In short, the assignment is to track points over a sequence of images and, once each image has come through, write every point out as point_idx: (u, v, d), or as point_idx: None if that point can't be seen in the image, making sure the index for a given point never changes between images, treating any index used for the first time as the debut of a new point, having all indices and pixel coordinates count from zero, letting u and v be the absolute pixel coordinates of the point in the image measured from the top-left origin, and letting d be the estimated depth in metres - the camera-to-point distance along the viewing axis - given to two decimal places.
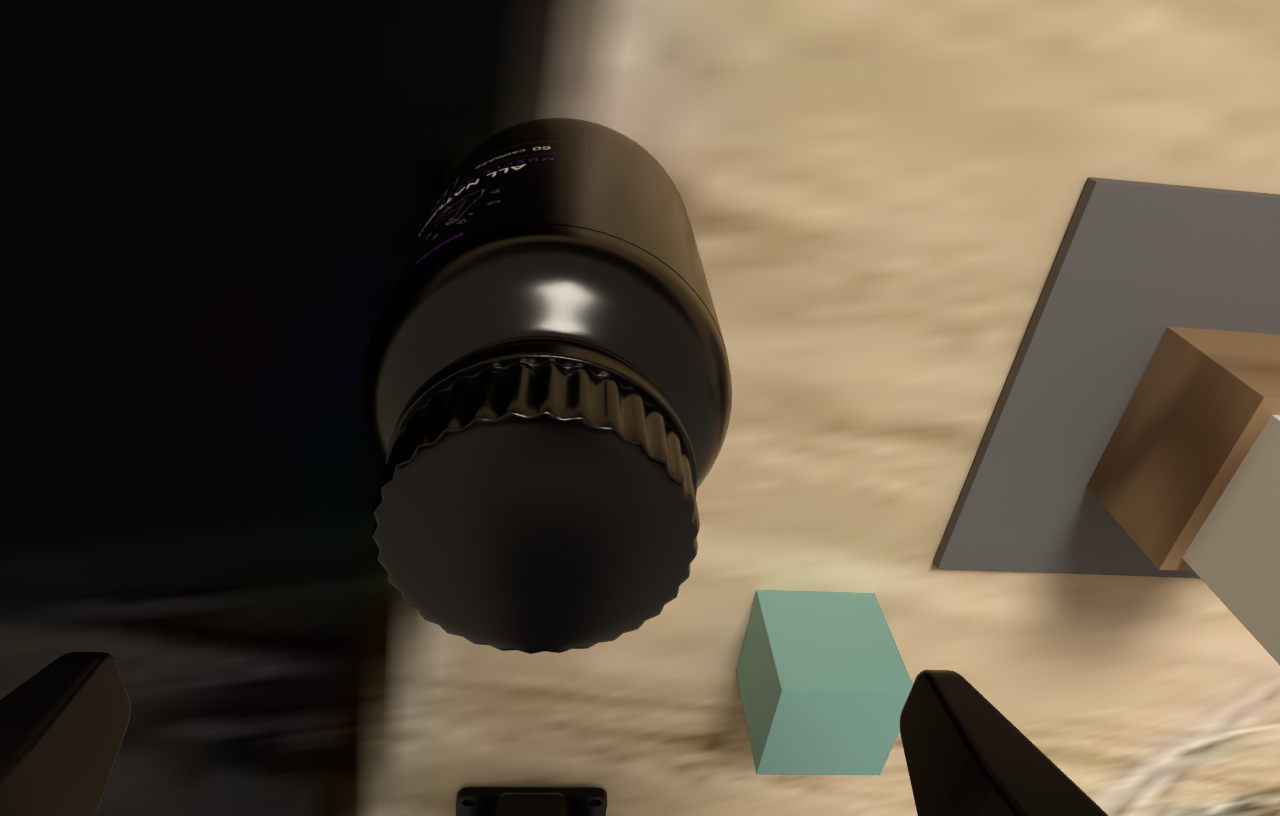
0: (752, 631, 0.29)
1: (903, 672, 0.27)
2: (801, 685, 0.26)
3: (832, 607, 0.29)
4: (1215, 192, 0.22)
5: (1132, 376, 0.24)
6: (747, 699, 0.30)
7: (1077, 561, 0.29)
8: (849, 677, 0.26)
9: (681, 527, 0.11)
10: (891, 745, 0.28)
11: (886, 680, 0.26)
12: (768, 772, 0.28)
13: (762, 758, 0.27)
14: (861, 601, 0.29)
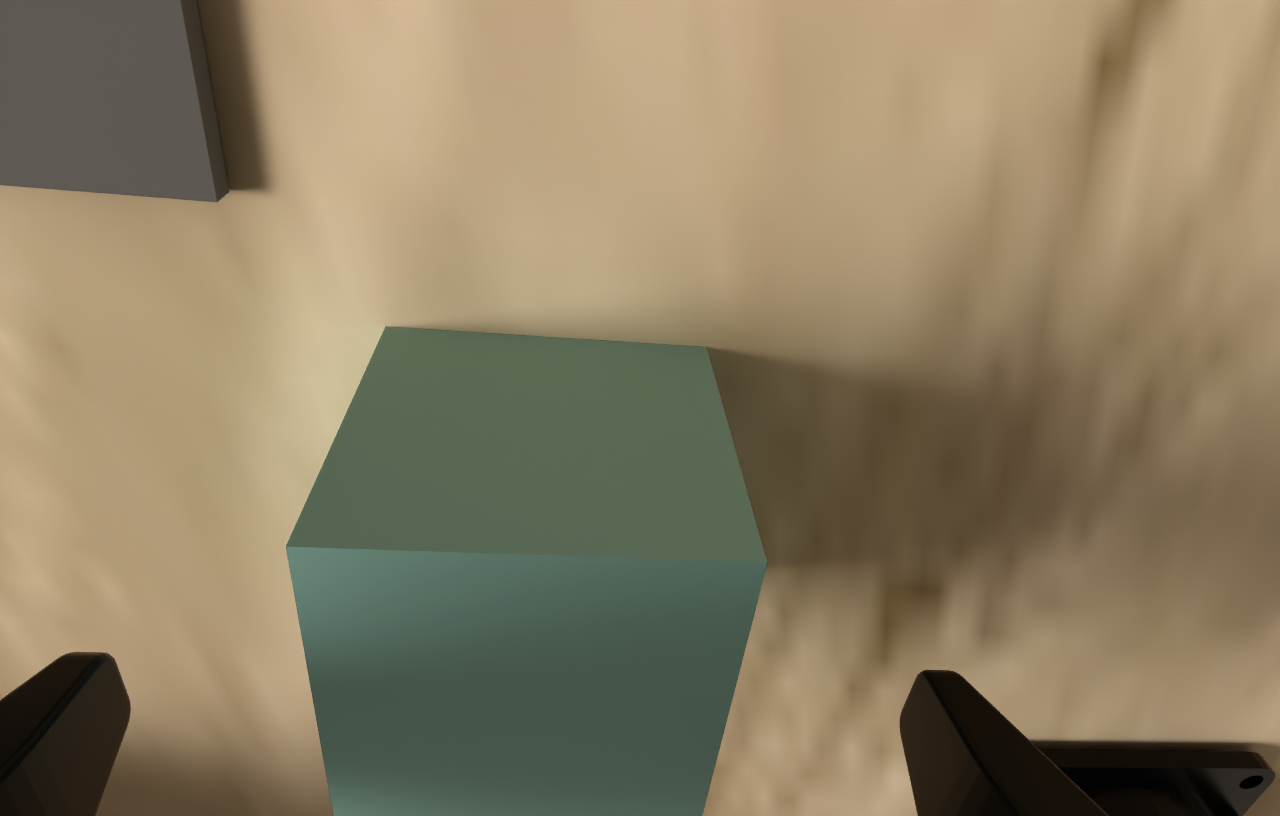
0: None
1: None
2: (334, 774, 0.09)
3: None
4: None
5: None
6: None
7: None
8: None
9: None
10: (603, 551, 0.08)
11: None
12: (693, 805, 0.10)
13: None
14: None
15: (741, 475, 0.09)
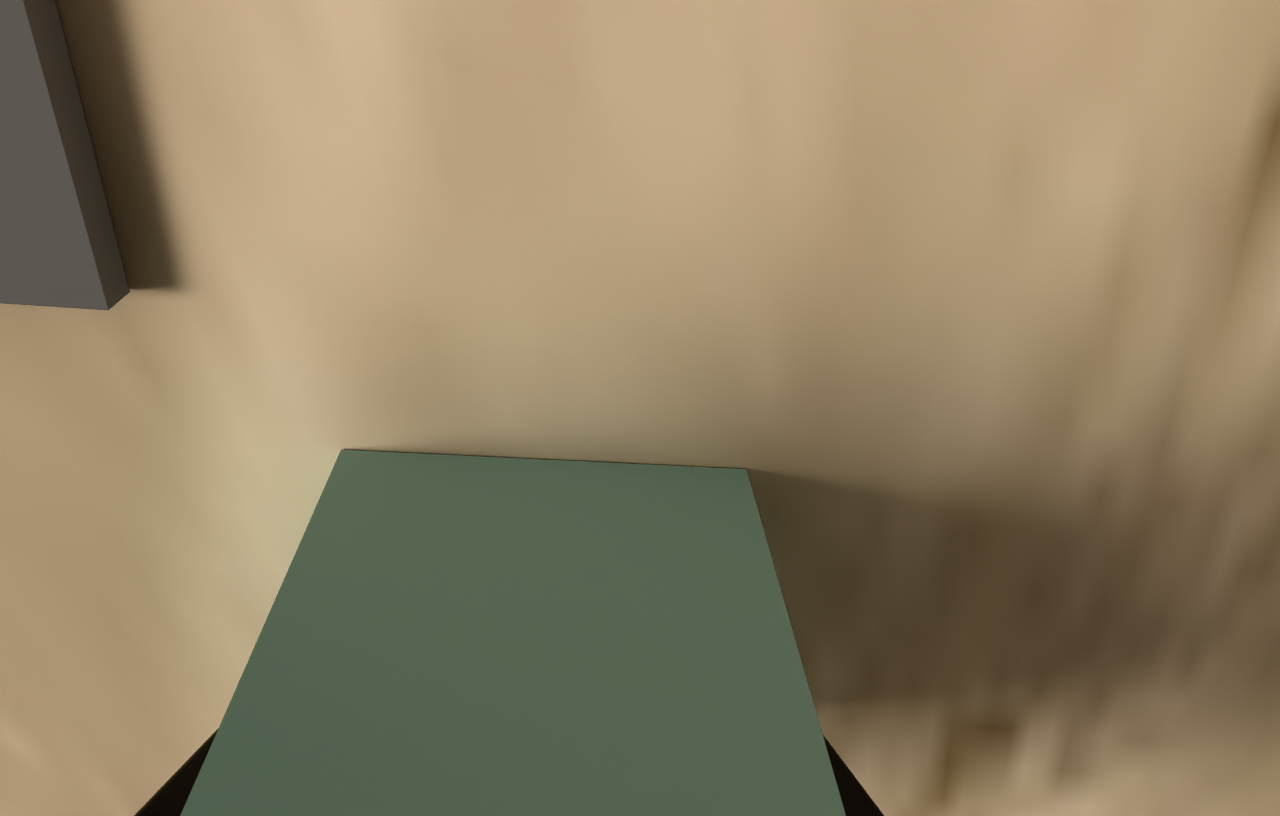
0: None
1: (209, 770, 0.06)
2: None
3: None
4: None
5: None
6: None
7: None
8: None
9: None
10: None
11: None
12: None
13: None
14: None
15: (810, 698, 0.07)
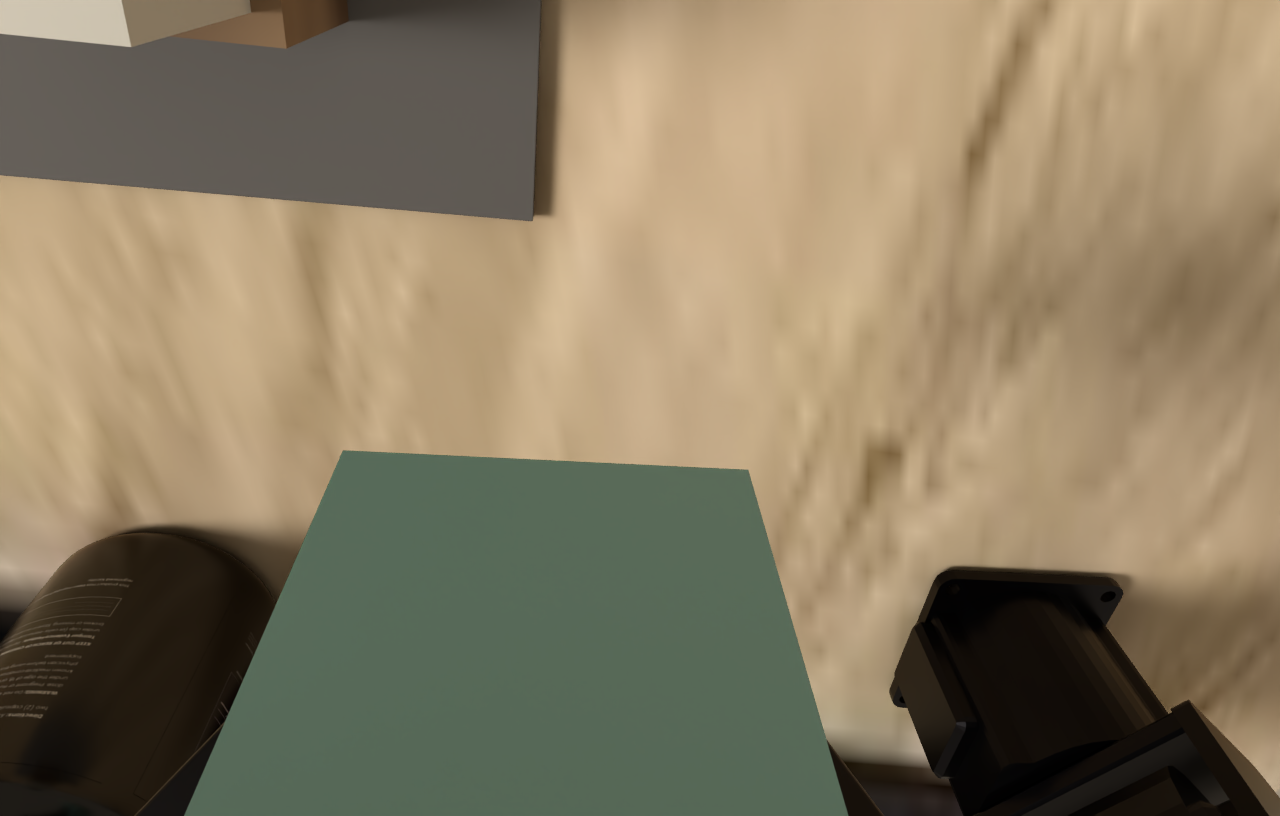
0: None
1: (212, 771, 0.06)
2: None
3: None
4: None
5: None
6: None
7: None
8: None
9: None
10: None
11: None
12: None
13: None
14: None
15: (812, 698, 0.07)
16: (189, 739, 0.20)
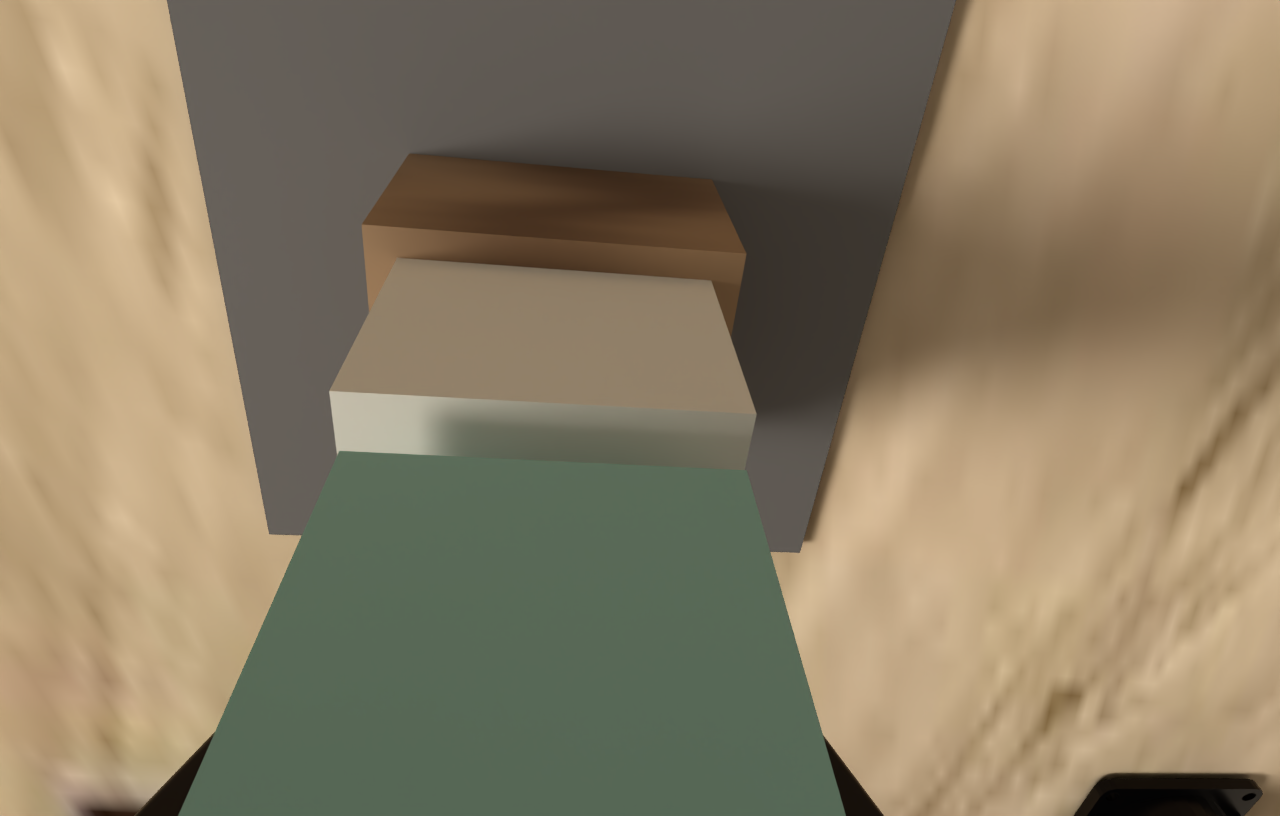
0: None
1: None
2: None
3: None
4: (249, 419, 0.19)
5: None
6: None
7: (820, 393, 0.19)
8: None
9: None
10: None
11: None
12: None
13: None
14: None
15: (811, 701, 0.06)
16: None
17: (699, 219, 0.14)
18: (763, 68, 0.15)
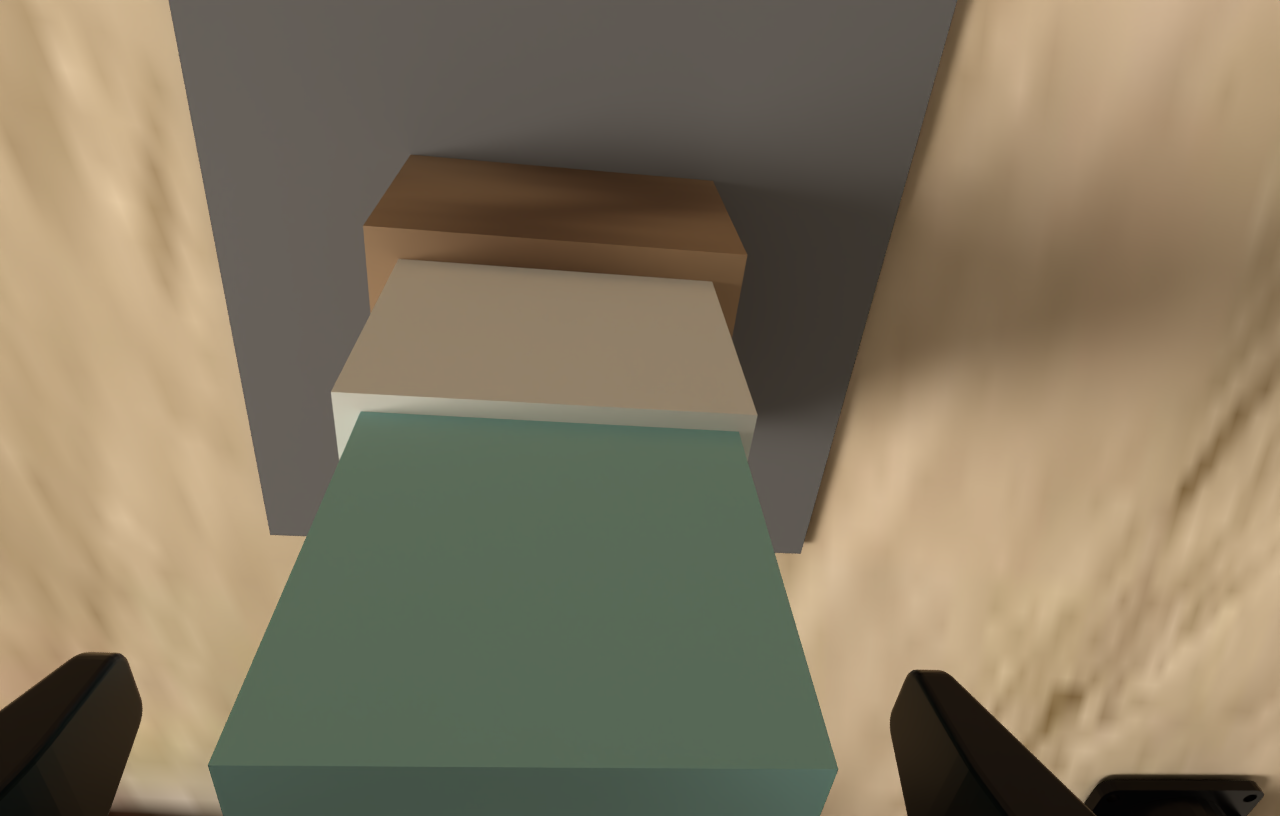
0: None
1: (252, 682, 0.06)
2: None
3: None
4: (250, 419, 0.19)
5: None
6: None
7: (821, 394, 0.19)
8: None
9: None
10: (626, 759, 0.06)
11: None
12: None
13: None
14: None
15: (794, 626, 0.07)
16: None
17: (699, 221, 0.14)
18: (764, 69, 0.15)
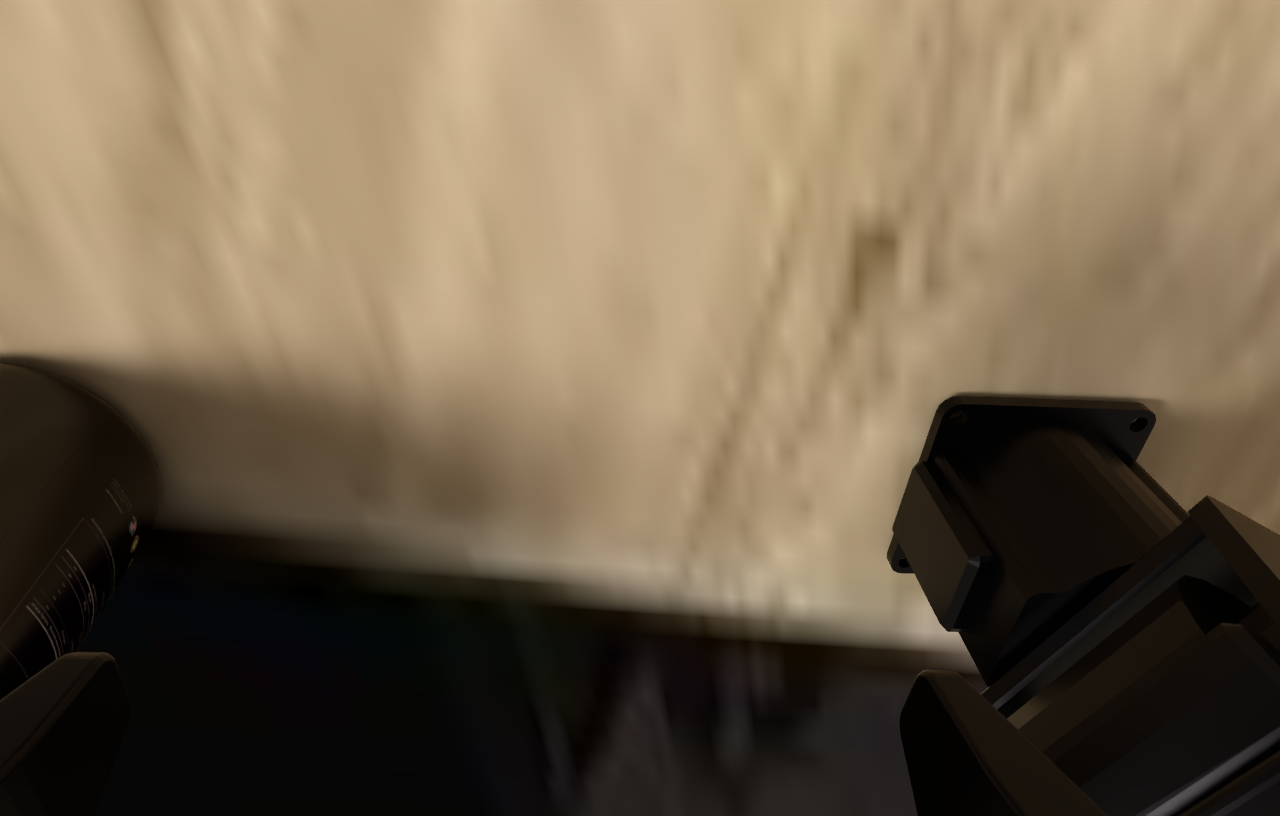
0: None
1: None
2: None
3: None
4: None
5: None
6: None
7: None
8: None
9: None
10: None
11: None
12: None
13: None
14: None
15: None
16: (13, 584, 0.16)
17: None
18: None
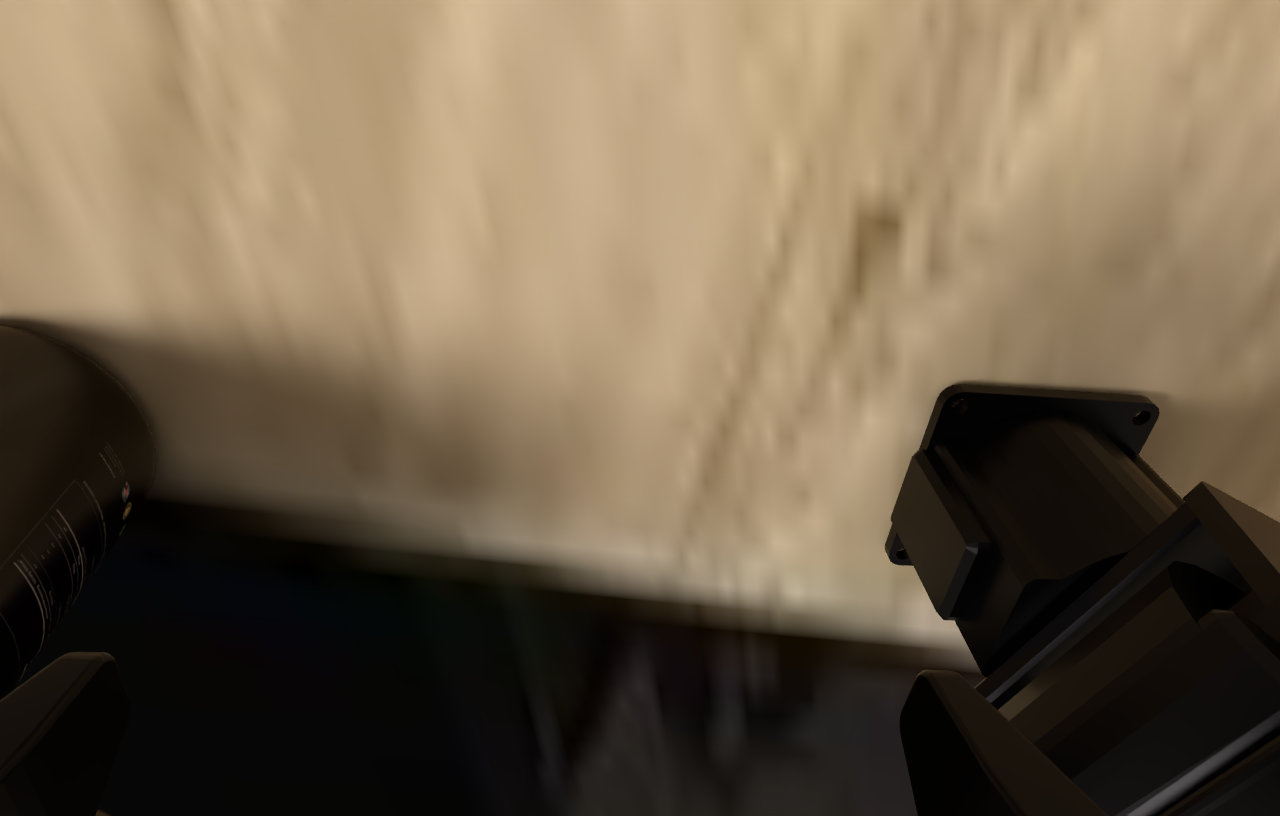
0: None
1: None
2: None
3: None
4: None
5: None
6: None
7: None
8: None
9: None
10: None
11: None
12: None
13: None
14: None
15: None
16: (1, 540, 0.16)
17: None
18: None
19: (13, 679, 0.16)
